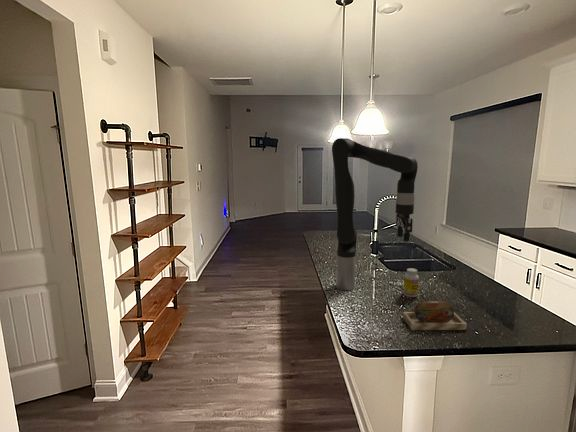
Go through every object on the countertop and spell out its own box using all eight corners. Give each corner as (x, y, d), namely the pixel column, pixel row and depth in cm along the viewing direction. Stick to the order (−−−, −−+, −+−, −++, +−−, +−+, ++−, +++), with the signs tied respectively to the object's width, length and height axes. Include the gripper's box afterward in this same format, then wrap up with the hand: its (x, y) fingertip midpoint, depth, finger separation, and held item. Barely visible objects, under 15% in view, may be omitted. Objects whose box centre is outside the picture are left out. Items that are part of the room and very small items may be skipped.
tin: (415, 323, 129) (416, 303, 128) (412, 319, 132) (413, 300, 131) (453, 323, 129) (455, 303, 127) (449, 319, 132) (451, 300, 131)
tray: (411, 329, 125) (412, 323, 125) (402, 317, 135) (403, 312, 135) (466, 329, 125) (466, 323, 125) (453, 317, 135) (453, 311, 135)
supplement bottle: (411, 298, 153) (412, 272, 151) (400, 293, 159) (401, 268, 157) (420, 296, 156) (422, 270, 154) (410, 291, 162) (411, 266, 160)
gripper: (419, 205, 135) (417, 242, 138) (407, 200, 149) (405, 235, 152) (401, 205, 135) (399, 242, 138) (391, 200, 149) (389, 235, 152)
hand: (402, 238), depth 145 cm, fingers open, 8 cm apart
